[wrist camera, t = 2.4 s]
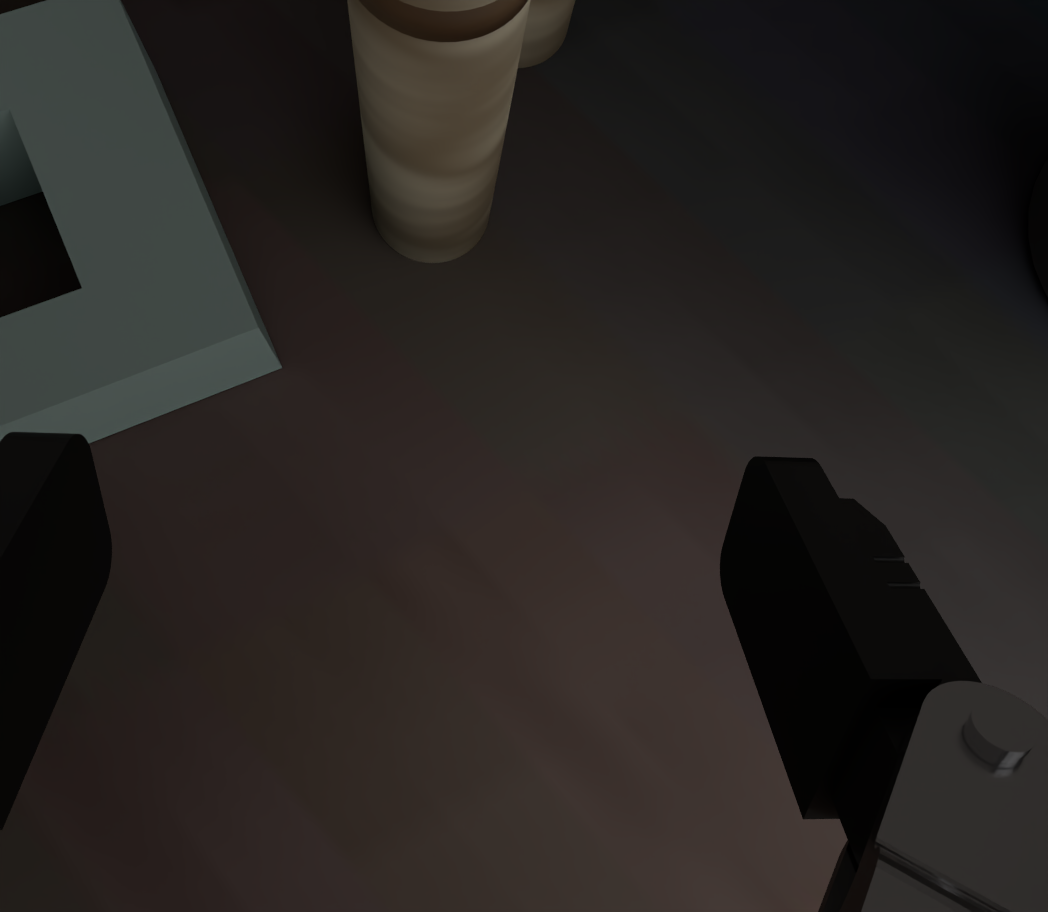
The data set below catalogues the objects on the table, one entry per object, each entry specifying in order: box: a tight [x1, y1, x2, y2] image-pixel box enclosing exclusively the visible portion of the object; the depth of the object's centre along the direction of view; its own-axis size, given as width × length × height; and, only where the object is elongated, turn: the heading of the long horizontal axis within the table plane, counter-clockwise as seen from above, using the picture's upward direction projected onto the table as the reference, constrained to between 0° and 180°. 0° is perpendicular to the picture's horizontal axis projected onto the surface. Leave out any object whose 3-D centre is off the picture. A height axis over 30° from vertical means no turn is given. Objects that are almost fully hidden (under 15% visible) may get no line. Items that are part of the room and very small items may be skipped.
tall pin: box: [347, 0, 531, 263], centre depth 21 cm, size 4×4×12 cm
